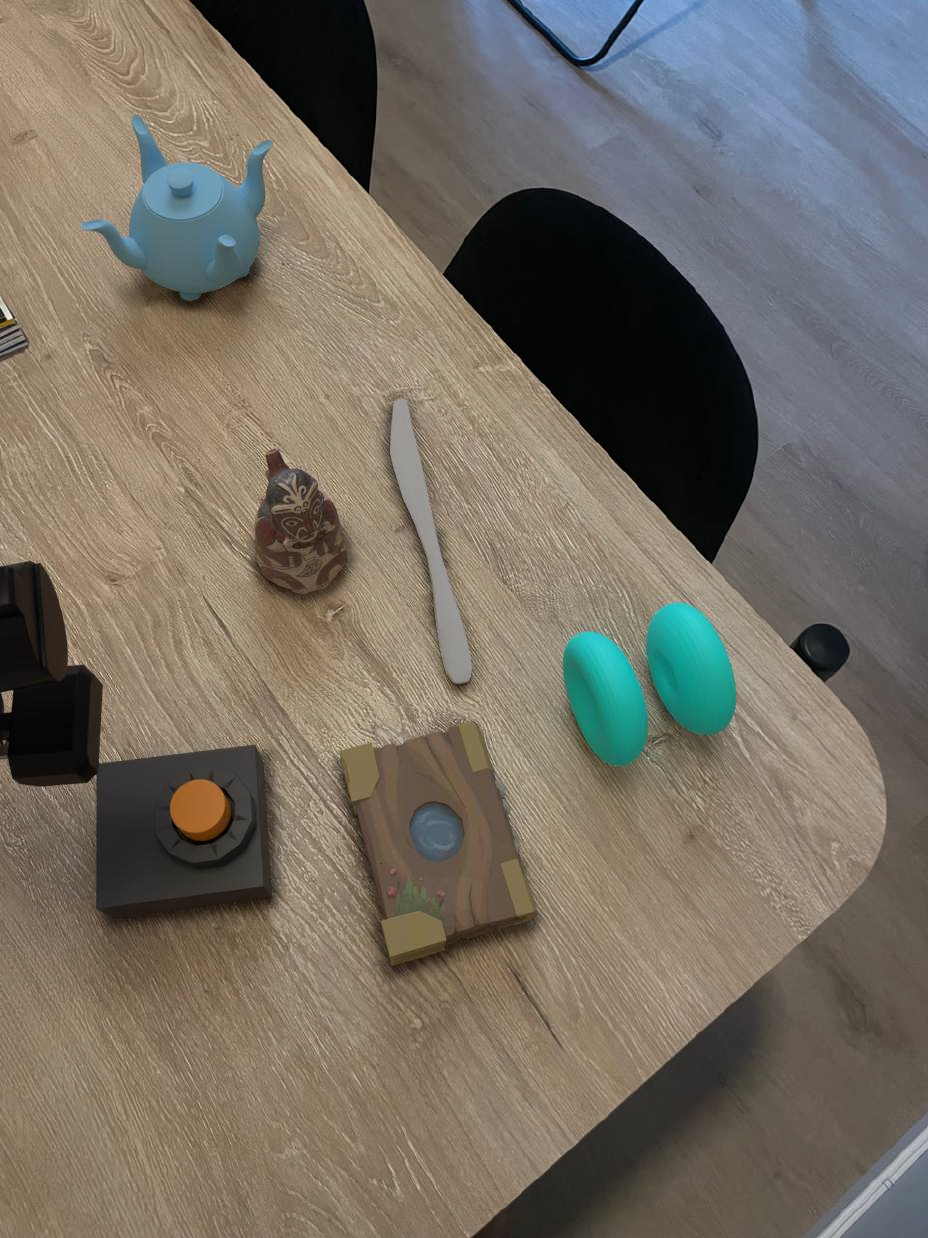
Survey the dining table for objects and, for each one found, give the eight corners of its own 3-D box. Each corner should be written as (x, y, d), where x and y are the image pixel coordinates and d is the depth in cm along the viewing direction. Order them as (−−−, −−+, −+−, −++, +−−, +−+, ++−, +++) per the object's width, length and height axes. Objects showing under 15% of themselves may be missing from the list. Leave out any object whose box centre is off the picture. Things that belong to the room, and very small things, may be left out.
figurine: (272, 605, 85) (250, 530, 74) (246, 531, 88) (221, 448, 77) (358, 577, 86) (349, 499, 75) (330, 505, 89) (317, 420, 78)
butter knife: (437, 686, 82) (475, 678, 82) (379, 401, 93) (413, 395, 93) (437, 689, 82) (475, 681, 83) (380, 405, 94) (413, 399, 94)
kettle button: (177, 844, 71) (170, 836, 69) (176, 792, 73) (168, 782, 71) (232, 837, 72) (226, 829, 70) (229, 785, 73) (224, 775, 71)
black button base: (112, 919, 75) (88, 904, 69) (112, 780, 79) (89, 755, 73) (272, 898, 76) (260, 881, 70) (263, 762, 80) (251, 736, 74)
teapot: (288, 226, 102) (275, 137, 92) (248, 334, 96) (230, 251, 87) (157, 201, 102) (131, 111, 93) (110, 307, 97) (77, 222, 88)
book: (341, 768, 80) (336, 747, 75) (483, 730, 81) (486, 707, 77) (391, 966, 74) (389, 957, 69) (543, 921, 76) (551, 908, 71)
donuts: (550, 670, 84) (565, 616, 74) (667, 631, 85) (695, 574, 76) (600, 788, 80) (623, 746, 71) (721, 745, 81) (758, 699, 72)
